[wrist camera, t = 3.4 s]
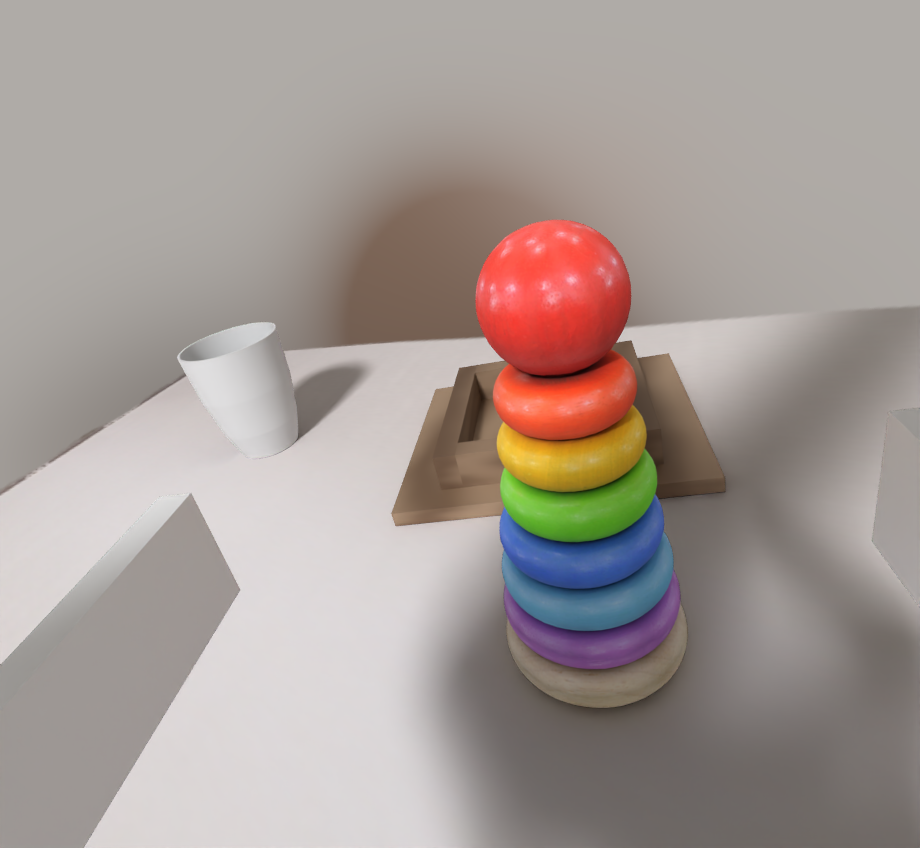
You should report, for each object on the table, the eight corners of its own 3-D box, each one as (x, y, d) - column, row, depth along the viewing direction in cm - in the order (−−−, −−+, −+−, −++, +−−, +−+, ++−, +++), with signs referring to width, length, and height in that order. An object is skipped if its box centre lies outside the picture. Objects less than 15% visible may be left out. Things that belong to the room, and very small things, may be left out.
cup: (279, 416, 59) (239, 321, 55) (333, 426, 54) (294, 322, 50) (209, 460, 54) (158, 358, 49) (262, 476, 49) (211, 364, 44)
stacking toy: (532, 740, 24) (410, 287, 15) (497, 599, 31) (400, 235, 23) (724, 690, 24) (708, 209, 15) (645, 561, 31) (605, 183, 23)
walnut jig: (669, 364, 50) (666, 325, 48) (725, 491, 34) (724, 439, 33) (438, 399, 54) (429, 364, 53) (395, 525, 39) (380, 481, 37)
